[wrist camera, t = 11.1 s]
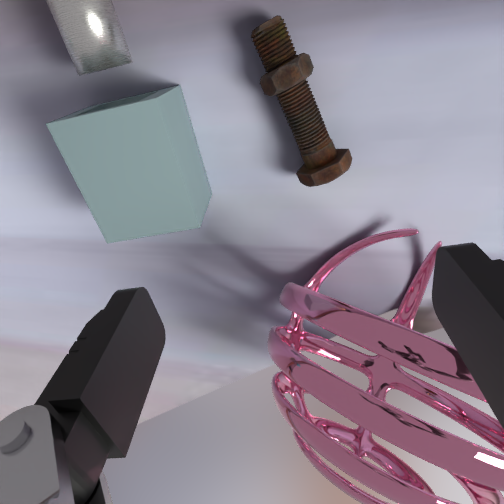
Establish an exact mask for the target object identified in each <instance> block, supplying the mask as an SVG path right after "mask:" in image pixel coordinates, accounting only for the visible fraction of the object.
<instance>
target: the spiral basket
mask: <svg viewBox="0 0 504 504" xmlns="http://www.w3.org/2000/svg"><path fill="white" fill-rule="evenodd" d="M418 232H419V231H418V230H417V229H398V230H392V231H387V232H382V233H379V234H375V235H372V236H369V237H366V238H364V239H361V240H359V241H357V242H355V243H353V244H351V245H349V246H347V247H346V248H344V249H342V250H341V251H339V252H338V253H336V254H335V255H334V256H332V257H331V258H330V259H329V260H328V261H326V262H325V263H324V264H323V265H322V266H321V267H320V268H319V269H318V270H317V271H316V273H315V274H314V275H313V276H312V277H311V279H310V280H309V281H308V282H307V283H306V284H305V285H303V286H300V285H297V284H294V283H292V282H289V283H287V284H286V285H285V287H284V288H283V290H282V292H281V294H280V297H279V303H280V304H281V305H282V306H284V307H285V308H287V309H288V310H290V311H292V315H291V318H290V321H289V322H288V324H287V325H285V326H273V327H272V328H271V329H270V331H269V334H268V341H267V347H268V352H269V355H270V357H271V359H272V360H273V361H274V363H275V364H276V365H277V366H278V367H279V368H280V369H281V370H282V371H280V372H278V373H276V374H275V375H274V376H273V378H272V382H271V386H272V393H273V397H274V400H275V402H276V405H277V407H278V409H279V411H280V412H281V414H282V416H283V417H284V419H285V420H286V421H287V423H288V424H289V425H290V426H291V427H292V430H293V435H294V438H295V440H296V442H297V444H298V446H299V448H300V449H301V451H302V452H303V454H304V455H305V456H306V458H307V459H308V460H309V461H310V463H311V464H312V465H313V466H314V467H315V468H316V469H317V470H318V471H319V472H320V473H321V474H322V475H323V476H324V477H326V479H328V480H329V481H330V482H331V483H332V484H334V485H335V486H336V487H338V488H339V489H340V490H342V491H343V492H344V493H346V494H347V495H349V496H350V497H352V498H354V499H355V500H357V501H359V502H360V503H362V504H391V503H388V502H386V501H383V500H381V499H379V498H377V497H375V496H372V495H371V494H369V493H367V492H365V491H364V490H362V489H360V488H359V487H357V486H355V485H354V484H352V483H351V482H349V481H348V480H346V479H345V478H343V477H342V476H341V475H339V474H338V473H337V472H335V471H334V470H333V469H332V468H330V467H329V466H328V465H327V464H326V463H325V462H324V461H323V460H322V459H320V458H319V456H317V454H316V453H315V452H314V451H313V450H312V448H313V449H314V450H316V451H317V452H318V453H319V454H320V455H322V456H323V457H324V458H326V459H327V460H328V461H330V462H331V463H332V464H333V465H335V466H336V467H338V468H339V469H340V470H342V471H343V472H345V473H346V474H348V475H349V476H351V477H353V478H354V479H356V480H357V481H359V482H360V483H362V484H363V485H365V486H367V487H368V488H370V489H372V490H374V491H375V492H377V493H379V494H381V495H383V496H385V497H386V498H388V499H390V500H392V501H395V502H396V503H398V504H458V503H456V502H452V501H450V500H447V499H444V498H441V497H439V496H436V495H435V493H434V492H433V491H432V489H431V488H430V486H429V485H428V484H427V483H426V482H425V481H424V480H423V478H422V477H421V476H420V475H418V473H416V472H415V471H414V470H413V469H412V468H411V467H410V466H409V465H407V464H406V463H405V462H404V461H403V460H401V459H400V458H399V457H397V456H396V455H395V454H393V453H392V452H390V451H389V450H388V449H386V448H384V447H383V446H382V445H380V444H378V443H377V442H376V441H375V440H374V439H373V438H372V433H373V434H375V435H377V436H379V437H380V438H382V439H384V440H386V441H388V442H390V443H392V444H394V445H395V446H397V447H399V448H401V449H403V450H405V451H407V452H409V453H411V454H413V455H415V456H417V457H419V458H421V459H423V460H425V461H427V462H430V463H432V464H434V465H436V466H438V467H441V468H443V469H445V470H447V471H448V472H449V473H450V474H451V475H452V476H453V477H454V478H455V479H456V480H457V481H458V482H459V483H460V484H461V485H462V486H463V488H464V489H465V490H466V491H467V493H468V494H469V496H470V497H471V499H472V501H473V504H504V497H503V495H502V494H501V492H500V491H504V455H502V454H499V453H497V452H494V451H492V450H489V449H487V448H484V447H482V446H479V445H477V444H475V443H472V442H470V441H467V440H465V439H463V438H460V437H458V436H456V435H453V434H451V433H449V432H447V431H445V430H442V429H440V428H438V427H436V426H434V425H431V424H429V423H427V422H425V421H423V420H421V419H419V418H417V417H415V416H413V415H411V414H408V413H406V412H404V411H402V410H400V409H398V408H396V407H394V406H392V405H390V404H388V403H386V400H385V398H386V394H387V392H388V391H389V390H390V389H397V390H400V391H402V392H404V393H406V394H408V395H410V396H412V397H414V398H416V399H418V400H419V401H421V402H423V403H425V404H427V405H429V406H431V407H432V408H434V409H436V410H437V411H439V412H441V413H443V414H444V415H446V416H448V417H450V418H451V419H453V420H455V421H456V422H458V423H459V424H461V425H463V426H465V427H466V428H468V429H469V430H471V431H472V432H474V433H475V434H477V435H479V436H480V437H481V438H483V439H484V440H486V441H487V442H489V443H490V444H492V445H493V446H494V447H496V448H497V449H499V450H500V451H501V452H503V453H504V429H503V428H502V426H501V424H500V423H499V421H498V420H496V419H495V418H493V417H491V416H489V415H488V414H486V413H484V412H482V411H480V410H478V409H477V408H475V407H473V406H471V405H469V404H468V403H466V402H464V401H462V400H460V399H458V398H456V397H454V396H452V395H451V394H449V393H447V392H445V391H443V390H441V389H439V388H437V387H435V386H433V385H431V384H429V383H427V382H425V381H423V380H421V379H418V378H416V377H414V376H412V375H410V374H408V373H407V372H405V371H404V370H403V369H402V368H401V367H400V365H402V366H404V367H406V368H409V369H411V370H413V371H415V372H417V373H420V374H422V375H424V376H427V377H429V378H431V379H433V380H436V381H438V382H440V383H442V384H445V385H447V386H449V387H452V388H454V389H456V390H459V391H461V392H463V393H466V394H468V395H470V396H473V397H475V398H478V399H480V400H482V401H484V402H487V400H486V399H485V397H484V395H483V394H482V392H481V390H480V389H479V387H478V385H477V383H476V382H475V380H474V378H473V377H472V375H471V373H470V372H469V370H468V368H467V366H466V365H465V363H464V361H463V360H462V358H461V356H460V355H459V353H458V351H457V350H456V348H455V347H453V346H451V345H448V344H446V343H443V342H441V341H438V340H436V339H434V338H431V337H429V336H426V335H424V334H421V333H419V332H416V331H414V330H413V322H414V319H415V316H416V313H417V311H418V308H419V305H420V303H421V300H422V297H423V295H424V292H425V290H426V287H427V284H428V282H429V279H430V276H431V274H432V271H433V268H434V266H435V258H436V252H437V249H438V248H439V247H441V246H442V242H441V241H439V242H438V243H436V244H435V246H434V247H433V248H432V249H431V251H430V252H429V254H428V255H427V257H426V258H425V260H424V261H423V263H422V264H421V266H420V268H419V269H418V271H417V273H416V274H415V276H414V278H413V280H412V282H411V284H410V286H409V287H408V289H407V291H406V293H405V295H404V298H403V300H402V302H401V304H400V306H399V308H398V310H397V313H396V314H395V316H394V317H393V319H391V320H390V321H389V320H386V319H383V318H381V317H379V316H376V315H374V314H371V313H369V312H366V311H364V310H361V309H359V308H356V307H354V306H351V305H349V304H346V303H344V302H341V301H339V300H336V299H334V298H331V297H328V296H326V295H323V294H321V293H318V290H319V288H320V286H321V284H322V283H323V281H324V280H325V279H326V277H327V276H328V275H329V274H330V273H331V272H332V271H333V270H334V269H335V268H336V267H337V266H338V265H339V264H341V263H342V262H343V261H344V260H346V259H347V258H348V257H350V256H351V255H353V254H355V253H356V252H358V251H360V250H362V249H364V248H366V247H368V246H370V245H373V244H375V243H378V242H381V241H384V240H388V239H393V238H398V237H405V236H411V235H415V234H417V233H418ZM304 319H306V320H308V321H310V322H312V323H314V324H316V325H318V326H320V327H322V328H324V329H326V330H328V331H330V332H332V333H334V334H336V335H338V336H340V337H342V338H344V339H346V340H348V341H350V342H353V343H355V344H357V345H359V346H361V347H363V348H365V349H367V350H369V351H372V352H374V353H376V354H378V355H376V356H370V355H366V354H364V353H361V352H359V351H357V350H354V349H352V348H349V347H347V346H344V345H342V344H339V343H337V342H334V341H332V340H329V339H326V338H323V337H321V336H318V335H315V334H312V333H309V332H307V331H305V330H304V328H303V321H304ZM301 351H307V352H310V353H313V354H316V355H319V356H322V357H325V358H328V359H331V360H333V361H336V362H339V363H341V364H344V365H346V366H349V367H351V368H353V369H356V370H358V371H360V372H362V373H364V374H365V375H366V376H367V377H368V379H369V387H368V389H367V390H366V391H363V390H362V389H360V388H358V387H356V386H354V385H352V384H351V383H349V382H347V381H345V380H343V379H342V378H340V377H338V376H336V375H335V374H333V373H331V372H330V371H328V370H326V369H324V368H323V367H321V366H320V365H318V364H316V363H315V362H313V361H312V360H310V359H308V358H307V357H305V356H304V355H302V354H301V353H299V352H301ZM287 393H289V394H290V395H291V396H292V399H293V401H294V403H295V406H296V409H297V410H296V409H295V408H294V407H293V406H292V405H291V404H290V402H289V401H288V400H287V399H286V398H285V397H284V395H285V394H287ZM305 393H307V394H311V395H313V396H314V397H316V398H317V399H318V400H320V401H321V402H323V403H324V404H326V405H327V406H329V407H330V408H332V409H334V410H335V411H337V412H338V413H340V414H341V415H343V416H344V417H346V418H348V419H349V420H351V421H353V422H354V423H356V424H358V427H357V428H356V429H352V428H349V427H347V426H344V425H342V424H340V423H337V422H335V421H332V420H328V419H325V418H321V417H316V416H313V415H311V414H310V412H309V411H308V409H307V406H306V404H305V401H304V394H305ZM487 403H488V402H487ZM337 441H338V442H340V443H343V444H345V445H347V446H349V447H350V448H351V449H352V450H353V452H351V451H350V450H349V449H347V448H346V447H344V446H342V445H341V444H340V443H338V442H337ZM311 447H312V448H311ZM363 457H368V458H370V459H372V460H373V461H374V462H376V463H377V464H379V465H380V466H381V467H382V468H384V469H385V470H386V471H387V472H386V471H384V470H382V469H380V468H378V467H377V466H375V465H373V464H371V463H370V462H368V461H366V460H364V459H363ZM389 473H390V474H389Z"/></svg>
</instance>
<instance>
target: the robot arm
mask: <svg viewBox="0 0 504 504" xmlns="http://www.w3.org/2000/svg"><path fill="white" fill-rule="evenodd" d="M432 302H433V306H434V310H435V313H436V315H437V317H438V319H439V321H440V322H441V324H442V326H443V327H444V329H445V331H446V332H447V334H448V336H449V337H450V339H451V341H452V342H453V344H454V346H455V348H456V350H457V351H458V353H459V355H460V356H461V358H462V360H463V361H464V363H465V365H466V366H467V368H468V370H469V372H470V373H471V375H472V377H473V378H474V380H475V382H476V383H477V385H478V387H479V389H480V390H481V392H482V394H483V395H484V397H485V399H486V400H487V402H488V404H489V405H490V407H491V409H492V410H493V412H494V414H495V416H496V417H497V419H498V421H499V423H500V424H501V426H502V428H503V429H504V261H503V260H501V259H498V260H491V259H490V258H489V257H488V256H487V255H486V254H485V253H484V252H483V251H482V250H481V249H480V248H479V247H478V246H477V245H476V244H474V243H465V244H458V245H450V246H443V247H439V248H438V249H437V252H436V258H435V268H434V278H433V288H432ZM164 345H165V329H164V325H163V323H162V321H161V318H160V316H159V314H158V312H157V310H156V308H155V306H154V304H153V301H152V299H151V297H150V295H149V293H148V291H147V290H146V289H145V288H144V287H139V288H131V289H124V290H118V291H116V292H115V293H114V294H113V296H112V297H111V299H110V301H109V302H108V304H107V305H106V307H105V309H104V310H101V311H100V312H99V313H97V314H96V315H95V316H94V317H93V318H92V319H91V320H90V321H89V322H88V323H87V324H86V325H85V327H84V328H83V330H82V332H81V333H80V335H79V336H78V338H77V341H75V342H74V344H73V346H72V347H71V349H70V350H69V354H67V355H66V356H65V358H64V359H63V361H62V363H61V364H60V366H59V367H58V369H57V370H56V372H55V373H54V375H53V377H52V378H51V380H50V381H49V383H48V384H47V386H46V387H45V389H44V391H43V392H42V394H41V395H40V397H39V398H38V400H37V401H36V403H35V404H34V405H31V406H27V407H24V408H21V409H19V410H17V411H15V412H13V413H12V414H10V415H9V416H7V417H6V418H4V419H3V420H2V421H1V422H0V504H113V503H112V499H111V495H110V491H109V487H108V483H107V480H106V477H105V475H104V473H103V472H102V469H103V467H104V464H105V462H106V459H107V458H125V457H126V454H127V452H128V449H129V446H130V443H131V440H132V437H133V434H134V431H135V428H136V426H137V423H138V420H139V417H140V414H141V411H142V408H143V405H144V403H145V400H146V397H147V394H148V391H149V388H150V385H151V382H152V380H153V377H154V374H155V371H156V368H157V365H158V362H159V359H160V356H161V354H162V351H163V348H164Z"/></svg>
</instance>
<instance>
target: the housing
mask: <svg viewBox="0 0 504 504" xmlns="http://www.w3.org/2000/svg"><path fill="white" fill-rule="evenodd" d="M46 125H47V127H48V129H49V131H50V133H51V135H52V137H53V139H54V141H55V143H56V145H57V147H58V149H59V151H60V153H61V155H62V157H63V158H64V160H65V162H66V164H67V166H68V168H69V170H70V172H71V174H72V176H73V178H74V180H75V182H76V184H77V186H78V188H79V190H80V192H81V194H82V195H83V197H84V199H85V201H86V203H87V205H88V207H89V209H90V211H91V213H92V215H93V217H94V219H95V221H96V223H97V225H98V227H99V229H100V231H101V232H102V234H103V236H104V238H105V240H106V242H107V243H113V242H119V241H125V240H131V239H137V238H143V237H149V236H154V235H160V234H166V233H172V232H178V231H184V230H190V229H196V228H200V226H201V223H202V220H203V218H204V215H205V212H206V209H207V207H208V204H209V201H210V198H211V196H212V192H211V189H210V185H209V182H208V178H207V175H206V172H205V168H204V165H203V161H202V158H201V155H200V151H199V148H198V144H197V141H196V137H195V134H194V131H193V127H192V124H191V120H190V117H189V114H188V110H187V107H186V103H185V100H184V97H183V93H182V90H181V86H180V85H178V86H174V87H169V88H165V89H161V90H157V91H153V92H148V93H144V94H140V95H136V96H131V97H127V98H123V99H119V100H115V101H110V102H106V103H102V104H98V105H94V106H90V107H87V108H85V109H82V110H80V111H77V112H75V113H72V114H70V115H67V116H65V117H62V118H59V119H57V120H54V121H52V122H49V123H47V124H46Z"/></svg>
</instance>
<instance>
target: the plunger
mask: <svg viewBox="0 0 504 504" xmlns="http://www.w3.org/2000/svg"><path fill="white" fill-rule="evenodd" d="M46 1H47V4H48V6H49V8H50V11H51V13H52V15H53V17H54V20H55V22H56V24H57V27H58V29H59V31H60V34H61V36H62V38H63V41H64V43H65V45H66V48H67V50H68V52H69V55H70V57H71V59H72V61H73V64H74V66H75V68H76V71H77V73H78V75H79V76H80V75H85V74H89V73H93V72H98V71H102V70H106V69H110V68H114V67H118V66H122V65H126V64H129V63H133V61H132V58H131V55H130V52H129V50H128V47H127V44H126V41H125V38H124V35H123V32H122V30H121V27H120V24H119V21H118V18H117V15H116V12H115V10H114V7H113V4H112V1H111V0H46Z"/></svg>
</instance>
